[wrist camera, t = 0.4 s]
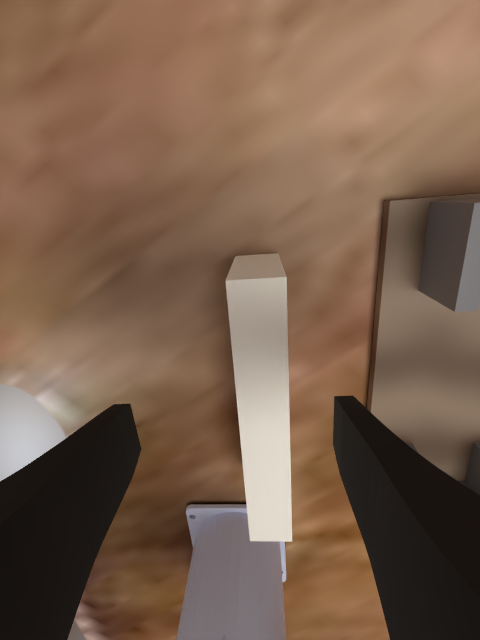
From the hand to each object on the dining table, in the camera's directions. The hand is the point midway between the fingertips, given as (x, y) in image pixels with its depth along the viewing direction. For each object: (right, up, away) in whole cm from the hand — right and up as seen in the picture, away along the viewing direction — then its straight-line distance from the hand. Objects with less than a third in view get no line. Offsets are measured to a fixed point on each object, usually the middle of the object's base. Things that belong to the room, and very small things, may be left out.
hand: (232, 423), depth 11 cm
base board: (+14, +1, +9) cm, 17 cm away
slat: (+2, 0, +10) cm, 10 cm away
